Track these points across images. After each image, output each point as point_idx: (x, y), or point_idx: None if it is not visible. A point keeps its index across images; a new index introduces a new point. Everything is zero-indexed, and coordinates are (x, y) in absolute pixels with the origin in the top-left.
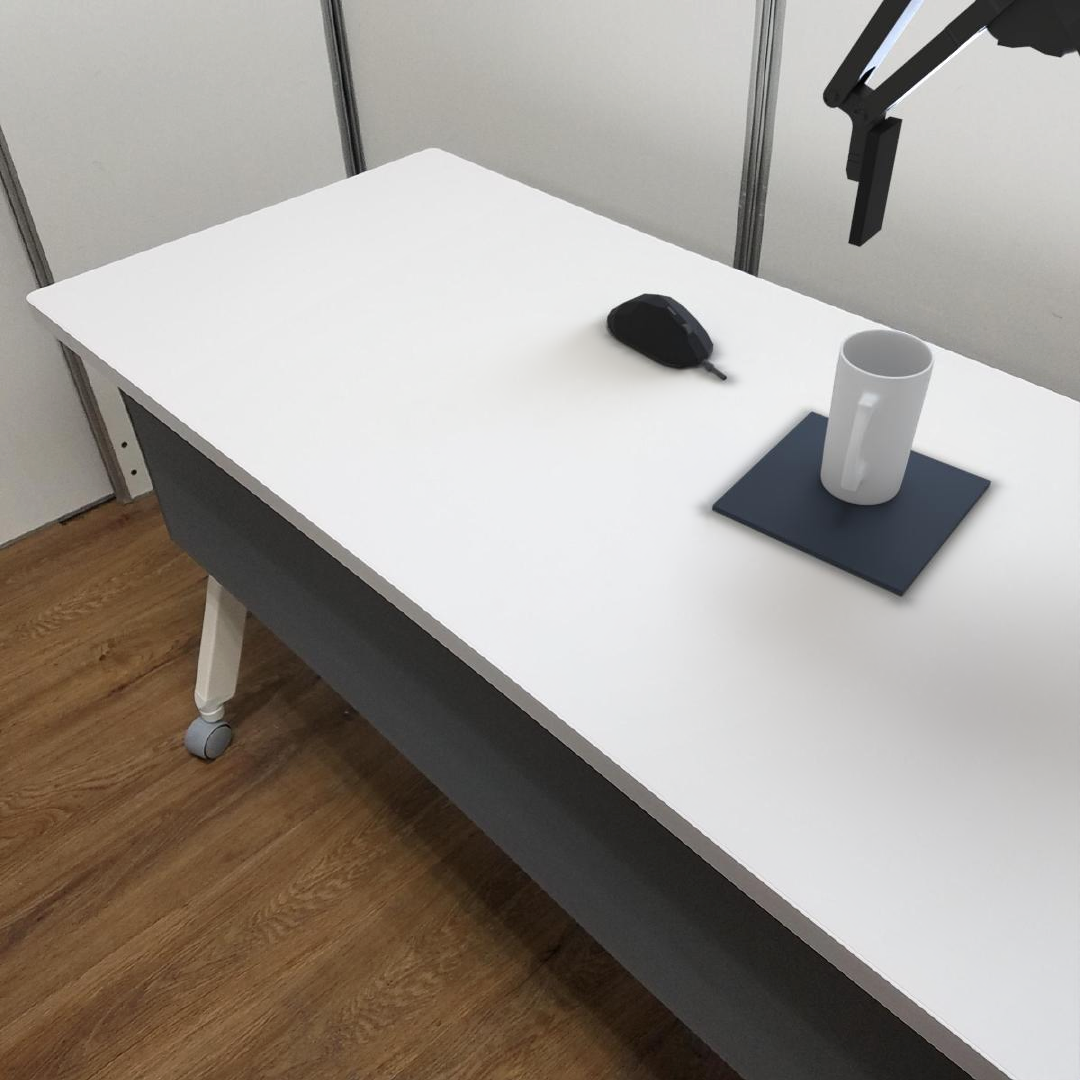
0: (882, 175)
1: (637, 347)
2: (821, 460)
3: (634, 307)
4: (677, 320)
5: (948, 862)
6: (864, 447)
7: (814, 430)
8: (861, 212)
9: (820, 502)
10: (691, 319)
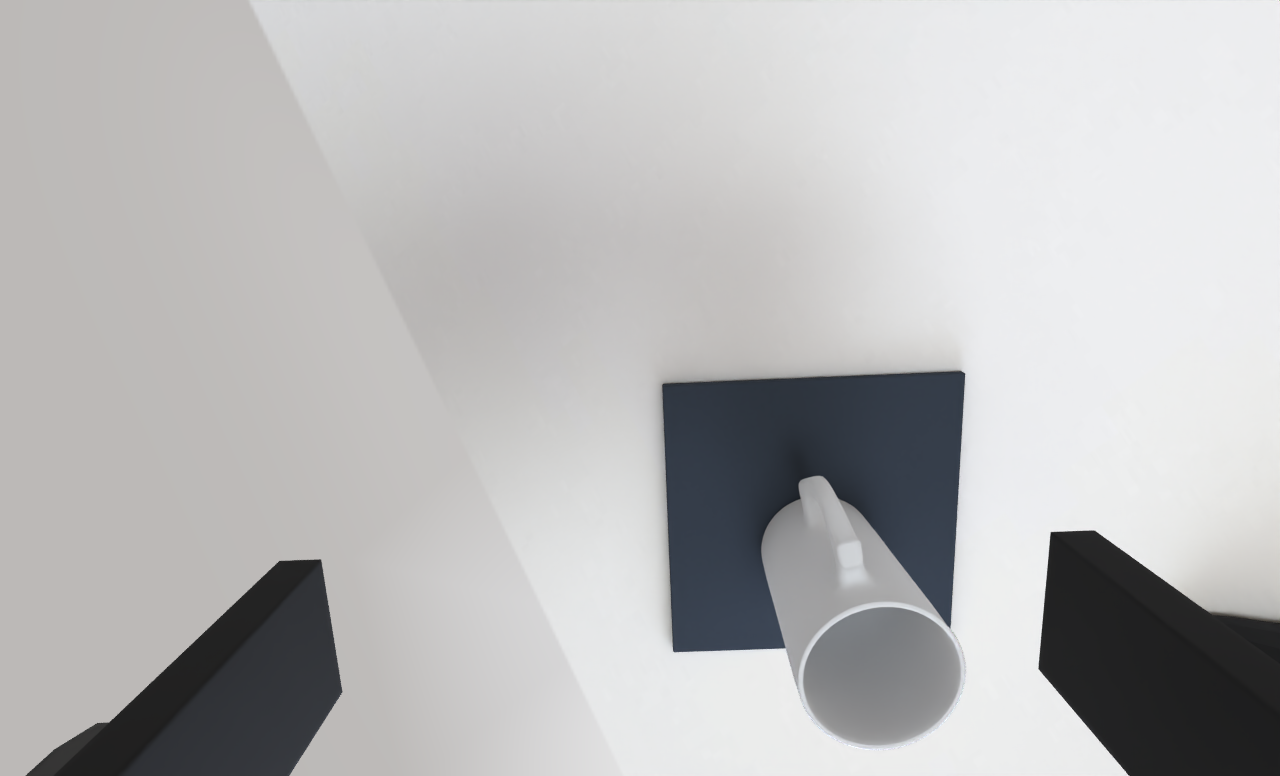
0: (1197, 752)
1: (1266, 622)
2: None
3: None
4: None
5: (407, 22)
6: (823, 540)
7: None
8: (1142, 588)
9: (839, 474)
10: None
